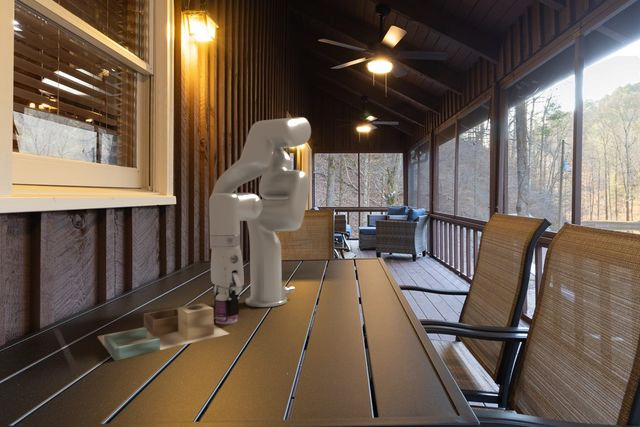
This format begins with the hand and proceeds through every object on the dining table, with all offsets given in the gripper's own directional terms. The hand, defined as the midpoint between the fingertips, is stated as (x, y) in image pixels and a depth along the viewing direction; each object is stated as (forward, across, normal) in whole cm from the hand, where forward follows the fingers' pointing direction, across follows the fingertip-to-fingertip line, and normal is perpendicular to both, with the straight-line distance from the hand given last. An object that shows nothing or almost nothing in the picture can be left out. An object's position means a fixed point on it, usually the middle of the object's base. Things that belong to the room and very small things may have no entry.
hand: (226, 311), depth 103 cm
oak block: (+2, -5, +10) cm, 11 cm away
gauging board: (+3, -1, +16) cm, 16 cm away
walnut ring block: (+2, +4, +14) cm, 15 cm away
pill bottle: (+3, 0, 0) cm, 3 cm away
